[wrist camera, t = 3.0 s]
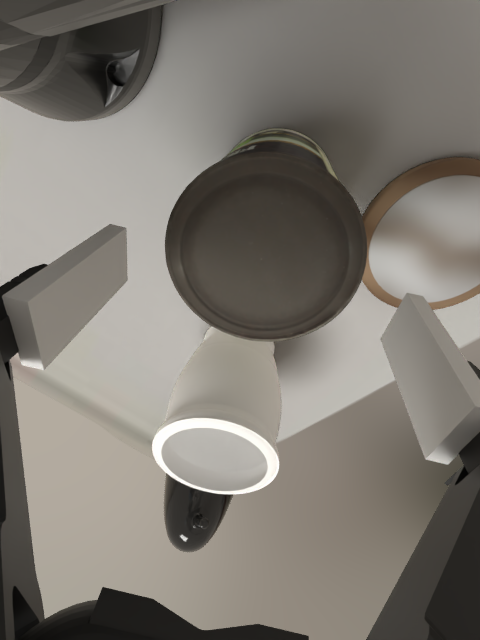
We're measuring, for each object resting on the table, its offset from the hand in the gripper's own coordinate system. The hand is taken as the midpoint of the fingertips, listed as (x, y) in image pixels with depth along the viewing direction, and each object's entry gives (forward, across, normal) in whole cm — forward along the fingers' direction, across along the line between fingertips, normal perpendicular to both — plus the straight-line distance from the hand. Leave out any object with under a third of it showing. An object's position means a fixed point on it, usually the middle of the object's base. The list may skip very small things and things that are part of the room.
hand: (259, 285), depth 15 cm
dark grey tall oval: (+16, -1, -35) cm, 39 cm away
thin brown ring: (+16, +14, 0) cm, 21 cm away
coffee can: (+16, 0, 0) cm, 16 cm away
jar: (+16, 0, -17) cm, 23 cm away
